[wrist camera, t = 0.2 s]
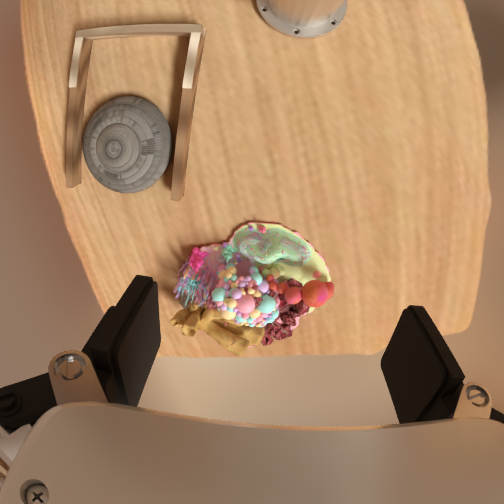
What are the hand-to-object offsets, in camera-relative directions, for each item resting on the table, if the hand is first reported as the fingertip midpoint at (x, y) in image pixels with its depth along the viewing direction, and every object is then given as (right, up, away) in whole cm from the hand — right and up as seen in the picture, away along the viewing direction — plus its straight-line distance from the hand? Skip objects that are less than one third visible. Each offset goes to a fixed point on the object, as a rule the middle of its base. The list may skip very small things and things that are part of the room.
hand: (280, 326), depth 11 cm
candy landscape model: (-1, -3, +43) cm, 43 cm away
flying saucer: (-20, +19, +33) cm, 43 cm away
